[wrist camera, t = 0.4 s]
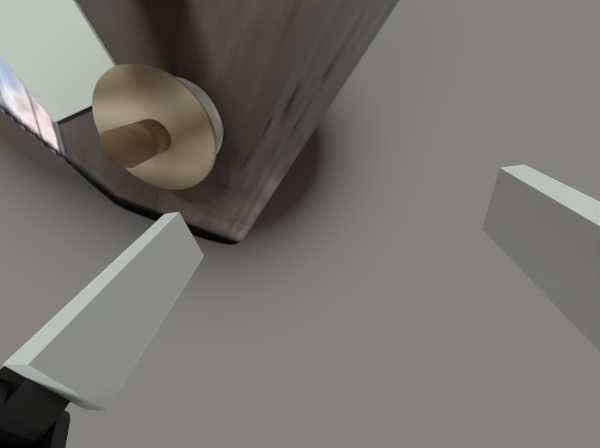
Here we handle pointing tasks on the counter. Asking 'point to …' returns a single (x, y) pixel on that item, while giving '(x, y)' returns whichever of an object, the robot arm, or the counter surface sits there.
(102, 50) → the mat
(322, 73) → the counter surface
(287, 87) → the counter surface
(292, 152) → the counter surface
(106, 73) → the lid
